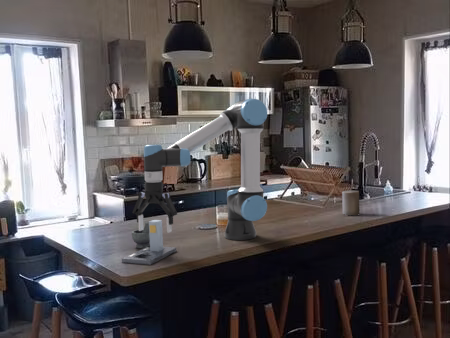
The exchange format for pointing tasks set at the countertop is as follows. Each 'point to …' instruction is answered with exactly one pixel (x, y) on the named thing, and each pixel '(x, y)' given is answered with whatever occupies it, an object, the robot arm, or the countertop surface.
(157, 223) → the plug
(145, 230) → the mortar and pestle
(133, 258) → the port panel
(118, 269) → the countertop surface
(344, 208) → the pillar candle
